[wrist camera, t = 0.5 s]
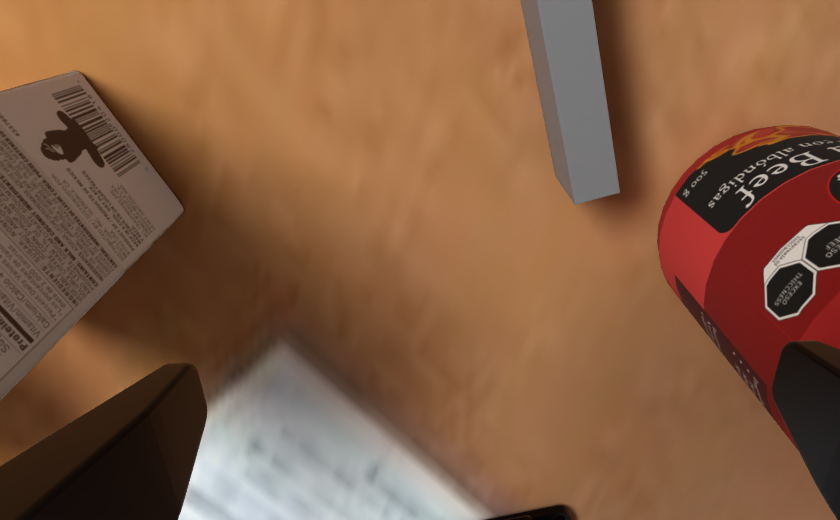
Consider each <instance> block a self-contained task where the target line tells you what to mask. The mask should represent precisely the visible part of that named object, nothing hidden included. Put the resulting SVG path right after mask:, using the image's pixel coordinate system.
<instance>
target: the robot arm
mask: <svg viewBox="0 0 840 520" xmlns="http://www.w3.org/2000/svg"><path fill="white" fill-rule="evenodd" d="M772 396H773V400H774V402H775V404H776V406H777V408H778V410H779V412H780V414H781V416H782V418H783V420H784V422H785V424H786V426H787V428H788V430H789V432H790V434H791V436H792V438H793V440H794V442H795V444H796V446H797V448H798V450H799V452H800V454H801V456H802V458H803V460H804V462H805V464H806V466H807V468H808V470H809V472H810V474H811V475H812V477H813V479H814V481H815V483H816V485H817V487H818V488H819V490H820V492H821V494H822V495H823V497H824V499H825V500H826V502H827V504H828V505H829V507H830V509H831V510H832V512H833V513H834V515H835V516H836V518H837V520H840V349H837V348H835V347H832V346H830V345H827V344H825V343H822V342H820V341H814V340H809V341H790V342H788V343H786V344H785V345H784V346H783V348H782V351H781V354H780V357H779V361H778V365H777V368H776V372H775V375H774V379H773V382H772ZM206 419H207V405H206V400H205V397H204V393H203V389H202V385H201V382H200V378H199V374H198V371H197V369H196V367H195V366H194V365H192V364H191V363H180V364H167V365H164V366H162V367H161V368H159V369H157V370H156V371H154V372H152V373H151V374H149V375H148V376H146V377H144V378H143V379H141V380H140V381H138V382H136V383H135V384H133V385H131V386H130V387H128V388H127V389H125V390H123V391H122V392H120V393H118V394H117V395H115V396H114V397H112V398H110V399H109V400H107V401H106V402H104V403H102V404H101V405H99V406H97V407H96V408H94V409H93V410H91V411H89V412H88V413H86V414H84V415H83V416H81V417H80V418H78V419H76V420H75V421H73V422H72V423H70V424H68V425H67V426H65V427H63V428H62V429H60V430H59V431H57V432H55V433H54V434H52V435H50V436H49V437H47V438H46V439H44V440H42V441H41V442H39V443H38V444H36V445H34V446H33V447H31V448H29V449H28V450H26V451H25V452H23V453H21V454H20V455H18V456H16V457H15V458H13V459H12V460H10V461H8V462H7V463H5V464H4V465H2V466H0V520H178V518H179V515H180V512H181V509H182V506H183V503H184V499H185V496H186V492H187V489H188V485H189V481H190V478H191V474H192V471H193V467H194V463H195V460H196V456H197V452H198V449H199V445H200V442H201V438H202V434H203V431H204V427H205V423H206ZM490 520H570V516H569V512H568V510H567V508H565V507H564V506H555V507H550V508H545V509H540V510H535V511H530V512H525V513H520V514H515V515H510V516H505V517H500V518H495V519H490Z"/></svg>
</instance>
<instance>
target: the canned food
mask: <svg viewBox="0 0 840 520" xmlns="http://www.w3.org/2000/svg"><path fill="white" fill-rule="evenodd" d="M657 243H658V249H659V256H660V262H661V268H662V271H663V273H664V275H665V278H666V280H667V283H668V284H669V285H670V287H671V288H672V289H673V291H674V292H675V293H676V295H677V296H678V297H679V299H680V300H681V301H682V302H683V304H684V305H685V306H686V308H687V309H688V310H689V311H690V313H691V314H692V315H693V316H694V318H695V319H696V320H697V322H698V323H699V324H700V325H701V327H702V328H703V329H704V330H705V332H706V333H707V334H708V336H709V337H710V338H711V339H712V341H713V342H714V343H715V344H716V346H717V347H718V348H719V350H720V351H721V352H722V353H723V355H724V356H725V357H726V359H727V360H728V361H729V362H730V364H731V365H732V366H733V367H734V369H735V370H736V371H737V373H738V374H739V375H740V376H741V378H742V379H743V380H744V381H745V383H746V384H747V385H748V387H749V388H750V389H751V390H752V392H753V393H754V394H755V395H756V397H757V398H758V399H759V401H760V402H761V403H762V404H763V406H764V407H765V408H766V409H767V411H768V412H769V413H770V415H771V416H772V417H773V418H774V420H775V421H776V422H777V424H778V425H779V426H780V427H781V429H782V430H783V431H784V432H785V434H786V435H787V436H788V438H789V439H790V440H791V441H792V443H793V444H794V445H795V446H796V444H795V442H794V440H793V438H792V436H791V434H790V432H789V430H788V428H787V426H786V424H785V422H784V420H783V418H782V416H781V414H780V412H779V410H778V408H777V406H776V404H775V402H774V400H773V396H772V382H773V379H774V375H775V372H776V368H777V365H778V361H779V357H780V354H781V351H782V348H783V346H784V345H785V344H786V343H788V342H790V341H809V340H814V341H820V342H822V343H825V344H827V345H830V346H832V347H835V348H837V349H840V136H837V135H835V134H832V133H830V132H827V131H823V130H820V129H816V128H813V127H809V126H792V125H785V126H774V127H767V128H760V129H754V130H751V131H748V132H745V133H742V134H739V135H736V136H733V137H731V138H729V139H728V140H726V141H724V142H722V143H720V144H718V145H716V146H715V147H713V148H712V149H711V150H709V151H708V152H707V153H705V154H704V155H703V156H701V157H700V158H699V159H697V160H696V161H695V163H694V164H693V165H692V166H691V167H690V168H689V169H688V170H687V171H686V172H685V173H684V174H683V175H682V177H681V178H680V179H679V181H678V182H677V184H676V185H675V186H674V188H673V189H672V191H671V193H670V195H669V197H668V199H667V201H666V203H665V205H664V207H663V211H662V214H661V218H660V222H659V225H658V240H657ZM796 448H797V446H796ZM797 449H798V448H797Z"/></svg>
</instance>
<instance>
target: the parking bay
mask: <svg viewBox="0 0 840 520" xmlns="http://www.w3.org/2000/svg"><path fill="white" fill-rule="evenodd" d="M521 4H522V9H523V14H524V19H525V24H526V29H527V34H528V39H529V44H530V49H531V54H532V59H533V64H534V69H535V74H536V79H537V84H538V89H539V94H540V100H541V105H542V110H543V115H544V120H545V125H546V130H547V135H548V140H549V145H550V150H551V155H552V160H553V165H554V170H555V175H556V177H557V179H558V180H559V182H560V183H561V185H562V186H563V188H564V189H565V191H566V192H567V194H568V195H569V197H570V198H571V200H572V201H573V203H574V204H575V205H576V204H579V203H583V202H587V201H591V200H594V199H598V198H602V197H605V196H609V195H613V194H617V193H620V189H619V182H618V176H617V169H616V162H615V155H614V148H613V141H612V135H611V128H610V121H609V114H608V107H607V100H606V94H605V87H604V80H603V73H602V66H601V59H600V53H599V46H598V39H597V32H596V25H595V19H594V12H593V5H592V0H521Z"/></svg>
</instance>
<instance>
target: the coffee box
mask: <svg viewBox="0 0 840 520" xmlns="http://www.w3.org/2000/svg"><path fill="white" fill-rule="evenodd" d="M183 211H184V209H183V206H182V205H181V203H180V202H179V200H178V199H177V198H176V196H175V195H174V194H173V192H172V191H171V190H170V189H169V187H168V186H167V185H166V183H165V182H164V181H163V180H162V178H161V177H160V176H159V174H158V173H157V172H156V170H155V169H154V168H153V166H152V165H151V164H150V162H149V161H148V160H147V159H146V157H145V156H144V155H143V153H142V152H141V151H140V149H139V148H138V147H137V145H136V144H135V143H134V142H133V140H132V139H131V138H130V136H129V135H128V134H127V132H126V131H125V130H124V128H123V127H122V126H121V125H120V123H119V122H118V121H117V119H116V118H115V117H114V116H113V114H112V113H111V112H110V110H109V109H108V108H107V106H106V105H105V104H104V102H103V101H102V100H101V99H100V97H99V96H98V95H97V93H96V92H95V91H94V89H93V88H92V87H91V85H90V84H89V83H88V82H87V80H86V79H85V78H84V76H83V75H82V74H81V73H80V72H78V71H71V72H68V73H65V74H61V75H58V76H54V77H51V78H47V79H44V80H40V81H36V82H32V83H28V84H25V85H21V86H18V87H15V88H11V89H8V90H4V91H1V92H0V401H1V400H2V399H3V398H4V397H5V396H6V395H7V394H8V393H9V392H10V390H11V389H12V388H13V387H14V386H15V385H16V384H17V383H18V382H19V381H20V380H21V379H22V378H23V377H24V376H26V375H27V374H28V373H29V372H30V370H31V369H32V368H33V367H34V366H35V365H36V364H37V363H38V362H39V361H40V360H41V359H42V358H43V357H44V356H45V355H46V354H47V353H48V352H49V351H50V350H51V349H52V347H53V346H54V345H55V344H56V343H57V342H58V341H59V340H60V339H61V338H62V337H63V336H64V335H65V334H66V333H67V332H68V331H69V330H70V329H71V328H72V327H73V326H74V325H75V324H76V323H77V322H78V321H79V320H80V319H81V318H82V317H83V316H84V315H85V314H86V313H87V311H88V310H89V309H90V308H91V307H92V306H93V305H94V304H95V303H96V302H97V301H98V300H99V299H100V298H101V297H102V296H103V295H104V294H105V293H106V292H107V291H108V290H109V289H110V288H111V287H112V286H113V285H114V284H115V283H116V282H117V281H118V279H119V278H120V277H121V276H122V275H123V274H124V273H125V272H126V271H127V270H128V269H129V268H130V267H131V266H132V265H133V264H134V263H135V262H136V261H137V260H138V259H139V258H140V256H141V255H142V254H143V253H144V252H146V251H147V250H148V249H149V248H150V247H151V246H152V245H153V244H154V243H155V242H156V240H157V239H158V238H159V237H160V236H161V235H162V234H163V233H164V232H165V231H166V230H167V229H168V228H169V227H170V226H171V225H172V224H173V223H174V222H175V221H176V219H177V218H178V217H179V216H180V215H181V214H182V213H183Z"/></svg>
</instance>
